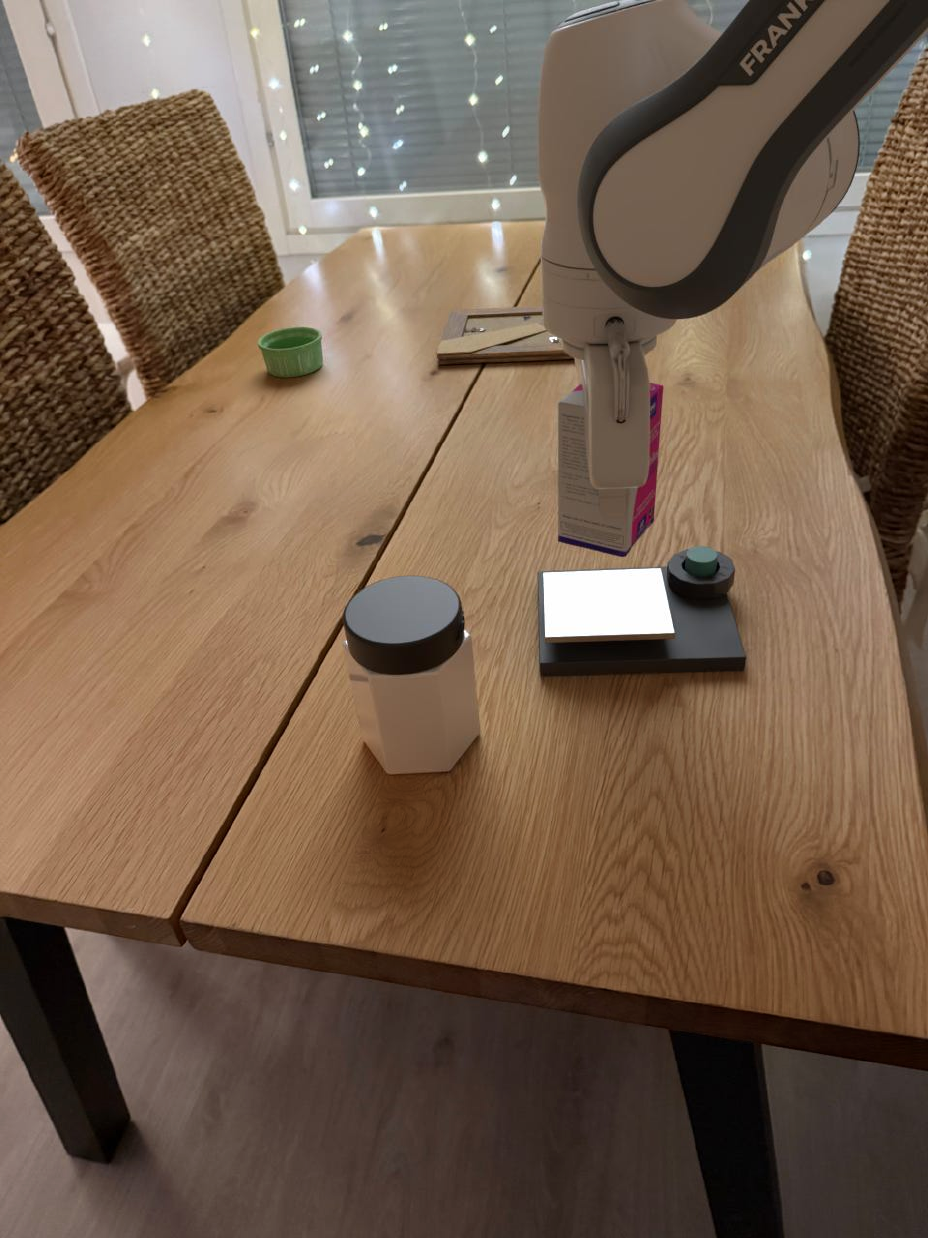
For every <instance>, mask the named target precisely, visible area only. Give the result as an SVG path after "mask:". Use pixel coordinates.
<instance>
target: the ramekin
mask: <svg viewBox="0 0 928 1238" xmlns="http://www.w3.org/2000/svg"><path fill="white" fill-rule="evenodd" d="M322 339H323V334H322V331H320V330H319V329H318V328H315V327H311V326H290V327H284V328H280V329H276V330H273V331H270V332H268V333H265V334H264V335H262V336H261V337H260V338H259V339H258V341H257V347H258V348H259V350H260V352H261V355H262V358H263V362H264V364H265V368H266V371H267V372H268V373H269V374H270V375H272V376H274V377H278V378H296V377H302V376H305V375H309V374H311V373H314V372H316V371H317V370H319V369H320V368H321V367H322V365H323V363H324V357H323V347H322V346H323V345H322Z"/></svg>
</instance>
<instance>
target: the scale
mask: <svg viewBox="0 0 928 1238" xmlns="http://www.w3.org/2000/svg"><path fill="white" fill-rule="evenodd" d="M689 549H690V548H688V549H684V550H681V551H678V552H677V553H674V554H673V555H672V556H671V557H670V558H669V560H668V561H667V565H666V566H645V567H641V566H640V567H619V568H618V567H617V568H594V569H593V568H591V569H590V568H589V569H568V570H564V569H563V570H542V571H541V570H540V571H537V609H538V610H537V612H538V654H539V655H538V657H539V663H538V664H539V676H540V677H564V676H568V677H569V676H601V675H634V674H635V675H636V674H637V675H639V674H669V673H671V674H672V673H675V674H676V673H705V672H706V673H707V672H709V673H710V672H736V671H739V672H741V671H745V670H746V663H747V662H746V661H747V655H746V652H745V648H744V645H743V641H742V638H741V635H740V631H739V628H738V625H737V622H736V618H735V616H734V612H733V609H732V606H731V602H730V600H729V596H728V593H729V591H730V590H731V589H732V587H733V586H734V583H735V575H736V574H735V573H736V568H735V564H734V562H733V559H732V558H730V557H729V556H727V555H725V553H723V552H721V551H718V550H715V551H716V552H717V554H718V558H717V568H716V572H715V573H714V574H712V575H710V576H696V575H692V574H689V573H687V572H686V570H685V564H686V553H687V551H688V550H689ZM653 568H661V570H662V574H663V579H664V584H665V588H666V593H667V598H668V603H669V607H670V612H671V617H672V621H673V626H674V631H675V639H656V640H625V641H594V642H563V643H545V624H544V590H543V573H550V572H576V571H602V570H627V569H653Z"/></svg>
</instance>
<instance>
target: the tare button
mask: <svg viewBox="0 0 928 1238" xmlns="http://www.w3.org/2000/svg"><path fill="white" fill-rule="evenodd" d="M688 549H689V550H688V551H687V553H686V564H685V570H686V572H687V573H689V574H692V575H696V576H710V575H712V574H714V573H715V572H716V568H717V558H718V554H717V552H716V551H717V550H716V549H714V548H712V547H710V546H705V545H697V546H693V547H690V548H688Z"/></svg>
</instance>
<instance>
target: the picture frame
mask: <svg viewBox="0 0 928 1238" xmlns="http://www.w3.org/2000/svg"><path fill="white" fill-rule="evenodd" d="M436 350H437V351H436V359H437V360H436V363H437V365H459V364H479V363H480V364H481V363H504V362H525V361H526V362H527V361H551V360H575V359H574V357H572V356H570V355H568V354H567V353H566V352H565V351H564V350H563V348H562V338H559V337H557V336H554V335H552V334H551V333H549V332H548V331H547V330H546V329H545V327H544V325H543V314H542V305H527V306H526V305H525V306H509V307H508V306H507V307H489V308H469V309H467V308H466V309H451V310H450V312H449V316H448V318H447V322H446V325H445V328H444V331H443V335H442V336H441V340H440V341H439V344H438V347H437V349H436Z"/></svg>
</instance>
